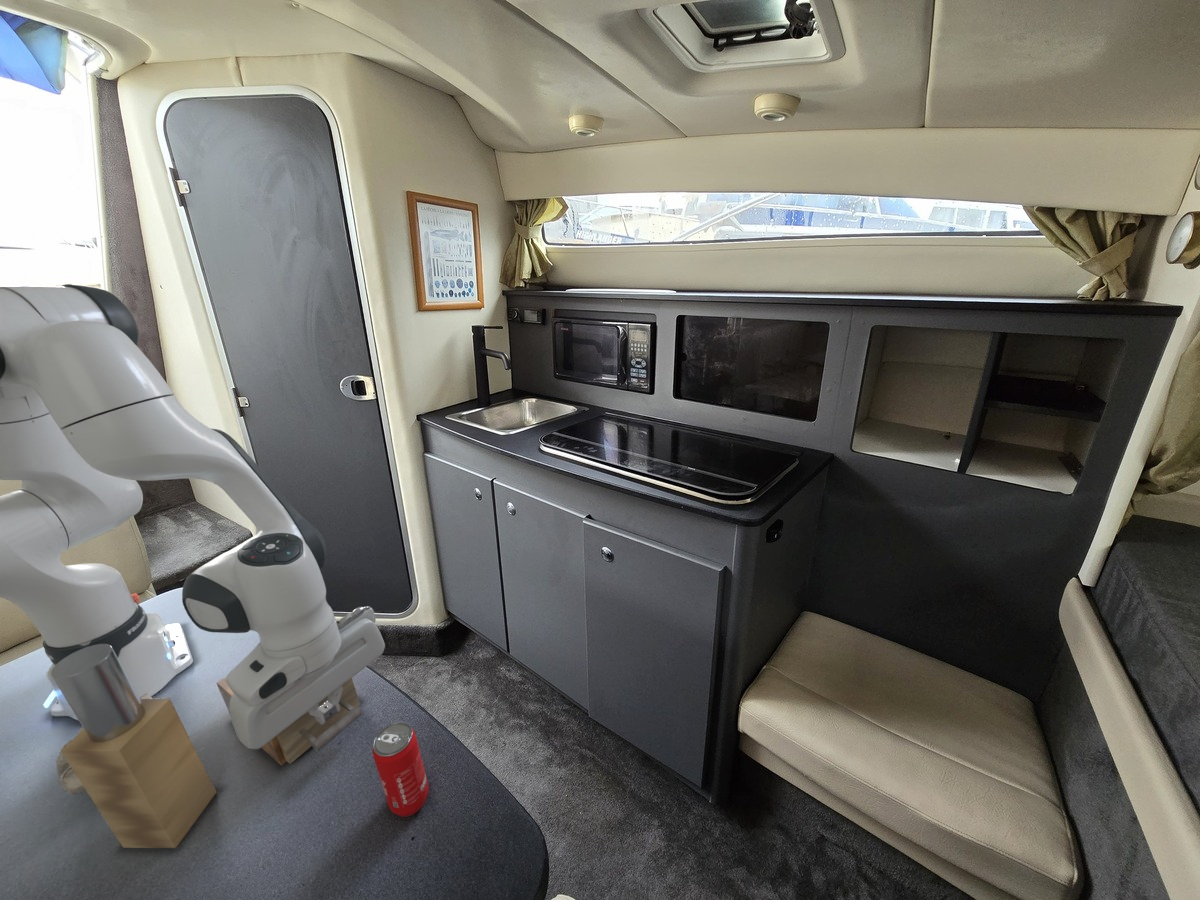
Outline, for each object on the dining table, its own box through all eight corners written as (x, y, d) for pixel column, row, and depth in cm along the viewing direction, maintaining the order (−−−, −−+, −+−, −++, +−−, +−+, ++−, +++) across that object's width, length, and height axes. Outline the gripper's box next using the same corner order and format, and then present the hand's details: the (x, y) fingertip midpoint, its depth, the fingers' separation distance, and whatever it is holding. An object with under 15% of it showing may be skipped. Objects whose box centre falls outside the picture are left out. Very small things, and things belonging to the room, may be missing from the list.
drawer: (379, 719, 78) (370, 687, 76) (309, 781, 69) (296, 747, 67) (314, 673, 87) (304, 643, 85) (244, 723, 79) (230, 691, 76)
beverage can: (417, 823, 65) (399, 761, 60) (381, 816, 66) (362, 754, 61) (436, 784, 69) (422, 723, 65) (403, 778, 70) (386, 717, 66)
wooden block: (123, 847, 63) (60, 750, 56) (168, 792, 70) (117, 698, 63) (175, 848, 63) (119, 750, 56) (216, 792, 69) (170, 698, 63)
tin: (94, 719, 60) (57, 656, 56) (147, 698, 63) (115, 637, 59) (84, 750, 56) (44, 685, 52) (141, 727, 59) (107, 663, 55)
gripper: (358, 593, 78) (376, 660, 83) (210, 686, 62) (245, 762, 67) (383, 606, 75) (400, 675, 80) (234, 707, 59) (269, 785, 64)
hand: (328, 715), depth 73 cm, fingers closed
